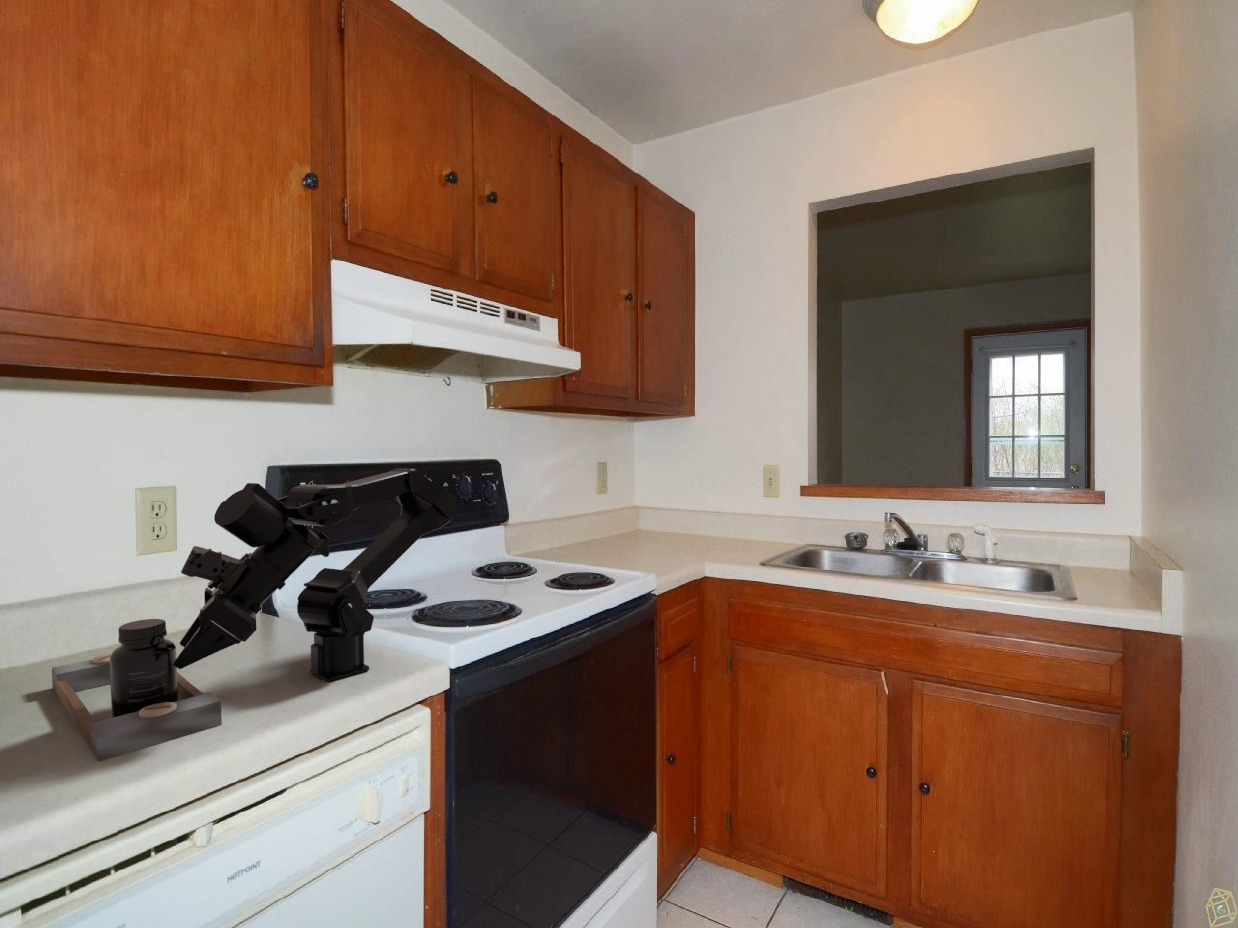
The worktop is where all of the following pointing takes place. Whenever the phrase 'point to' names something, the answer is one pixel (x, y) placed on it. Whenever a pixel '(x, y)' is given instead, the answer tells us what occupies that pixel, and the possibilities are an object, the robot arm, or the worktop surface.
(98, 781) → the worktop surface
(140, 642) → the supplement bottle
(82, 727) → the wooden frame
